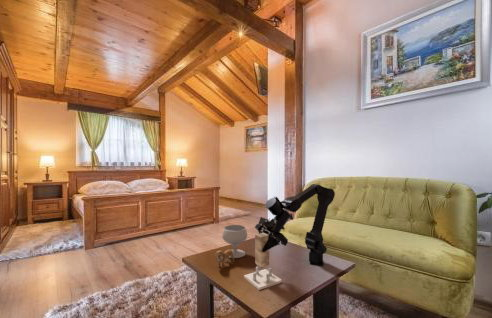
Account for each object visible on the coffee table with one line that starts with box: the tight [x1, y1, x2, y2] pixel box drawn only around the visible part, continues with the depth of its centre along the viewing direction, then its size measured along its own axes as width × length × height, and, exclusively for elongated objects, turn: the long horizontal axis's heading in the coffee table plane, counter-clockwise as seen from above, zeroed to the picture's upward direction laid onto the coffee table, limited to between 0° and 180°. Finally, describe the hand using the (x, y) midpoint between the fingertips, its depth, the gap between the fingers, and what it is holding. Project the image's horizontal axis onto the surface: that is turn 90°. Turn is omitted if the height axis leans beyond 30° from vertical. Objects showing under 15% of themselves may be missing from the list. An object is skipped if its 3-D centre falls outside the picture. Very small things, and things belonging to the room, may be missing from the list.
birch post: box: [254, 232, 270, 268], centre depth 104 cm, size 4×4×13 cm
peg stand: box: [243, 265, 283, 291], centre depth 103 cm, size 12×12×4 cm
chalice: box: [221, 224, 248, 259], centre depth 132 cm, size 14×14×15 cm
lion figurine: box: [215, 248, 236, 269], centre depth 119 cm, size 15×5×9 cm, turn 153°
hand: (259, 249), depth 103 cm, fingers closed on birch post, 4 cm apart
